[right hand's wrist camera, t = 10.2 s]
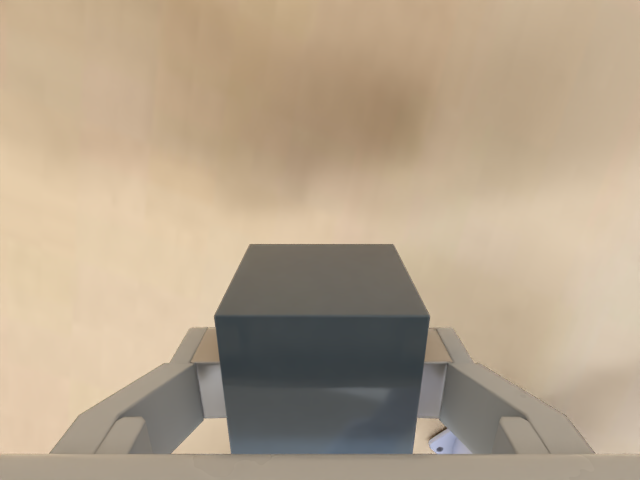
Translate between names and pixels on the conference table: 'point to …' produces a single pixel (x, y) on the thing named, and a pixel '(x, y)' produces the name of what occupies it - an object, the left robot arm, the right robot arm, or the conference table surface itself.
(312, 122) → the conference table surface
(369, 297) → the block
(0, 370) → the conference table surface
